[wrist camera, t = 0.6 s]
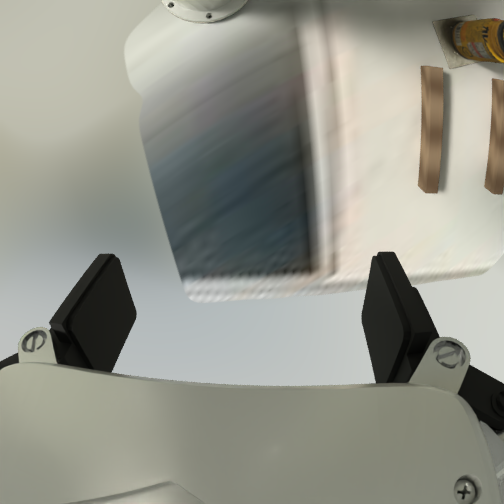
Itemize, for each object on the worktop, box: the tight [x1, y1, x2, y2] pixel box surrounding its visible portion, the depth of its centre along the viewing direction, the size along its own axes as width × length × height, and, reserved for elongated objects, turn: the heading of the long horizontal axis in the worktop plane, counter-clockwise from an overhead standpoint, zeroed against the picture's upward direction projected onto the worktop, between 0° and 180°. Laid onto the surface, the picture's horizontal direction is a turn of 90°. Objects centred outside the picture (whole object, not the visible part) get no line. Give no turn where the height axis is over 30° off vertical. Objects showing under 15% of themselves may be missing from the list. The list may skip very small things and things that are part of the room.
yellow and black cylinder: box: [433, 15, 504, 69], centre depth 26 cm, size 7×8×12 cm
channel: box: [418, 66, 504, 194], centre depth 37 cm, size 18×15×3 cm
